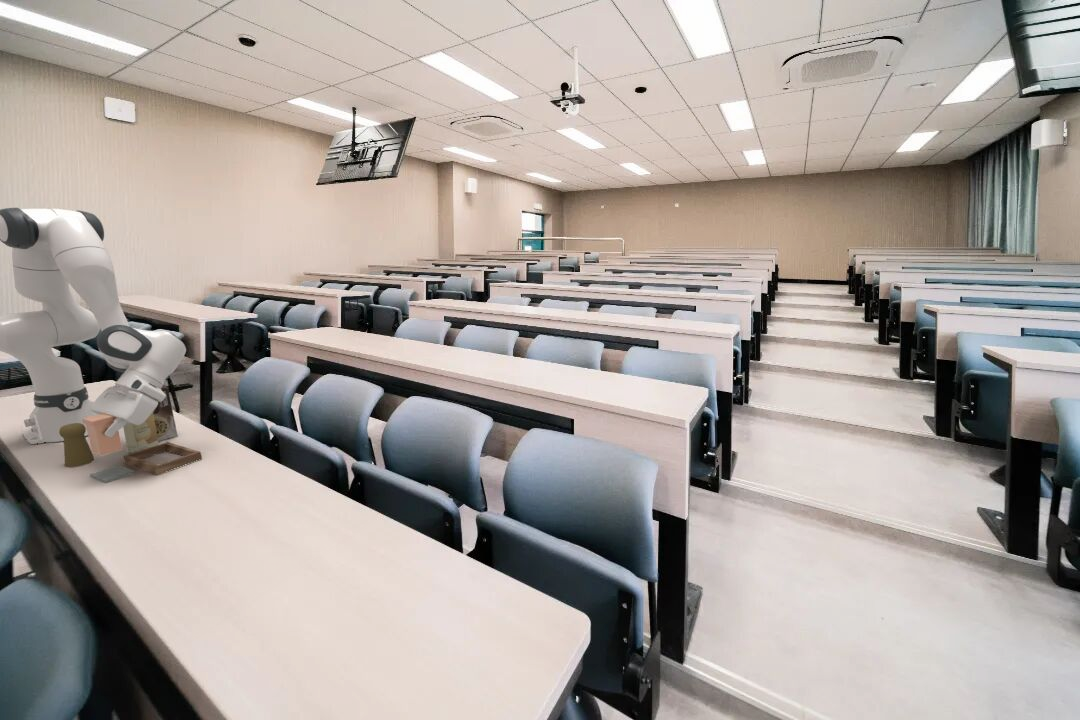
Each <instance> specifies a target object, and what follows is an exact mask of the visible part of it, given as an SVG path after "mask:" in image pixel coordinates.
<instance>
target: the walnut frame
mask: <svg viewBox="0 0 1080 720" xmlns="http://www.w3.org/2000/svg"><path fill="white" fill-rule="evenodd" d="M164 451H165V452H169V451H171V452H170V453H172V452H174V453H173V454H176V453H177V454H176V455H179V454H181V455H180V457H177V458H175V459H172V460H169V461H166V462H163V463H161V464H156V463H154V462H151V461H147V460H145V459H146V458H149V457H150V458H151V457H154V456H155V454H156V455H159V454H162V453H165V452H164ZM161 452H162V453H161ZM158 453H159V454H158ZM182 455H184V456H182ZM202 457H203V456H202V452H201V451H199V450H197V449H196V450H195V449H192V448H189V447H186V446H182V445H180V444H176V443H172V442H170V441H166V442H163V443H159V445H156V446H153V447H150V448H147V449H144V450H141V451H137V452H134V453H133V452H130V453H128V454H125V455H123V463H124V464H125V465H127V466H130V467H133V468H135V469H138V468H139V469H138V470H141V469H142V470H141V471H144V470H145V471H144V472H147V473H151V474H152V475H155V474H156V476H159V474H160V475H162V474H164V472H165V473H167V472H166V471H168V472H170V471H169V470H171V469H173V470H175V469H174V468H176V469H178V468H177V467H179V468H181V467H180V466H182V467H183V465H184V466H186V465H185V464H187V465H189V464H188V463H190V464H192V463H191V462H193V463H195V462H197V461H196V460H198V461H200V460H199V459H201V460H202V459H203V458H202ZM194 461H195V462H194ZM171 471H172V470H171ZM161 473H162V474H161Z"/></svg>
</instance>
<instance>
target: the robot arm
mask: <svg viewBox="0 0 1080 720" xmlns="http://www.w3.org/2000/svg"><path fill="white" fill-rule="evenodd" d="M104 238H105V229H104V226H103V223H102V222H101V220H100V218H98V216H96V215H95V214H94V213H91V212H88V211H83V210H70V209H64V208H63V209H62V208H56V207H55V208H54V207H47V208H42V207H41V208H40V207H39V208H37V207H36V208H35V207H32V208H19V207H8V208H7V207H6V208H2V209H0V242H1V243H3V245H5V246H7V247H10V248H12V249H11V260H12V262H11V263H12V270H13V272H12V273H13V282H14V288H15V290H16V292H17V293H18V294H19V295H21V296H22V297H24V298H26V299H28V300H31V301H34V302H38V303H41V305H42V310H35V311H26V312H16V313H15V312H14V313H8V314H6V315H4V314H3V315H1V316H0V352H3V353H5V354H8V355H9V356H12V357H14V359H17V360H18V361H19V362H20V363H21V364H22V365H23V366H24V368H26V370H27V372H28V374H29V378H30V380H31V384H32V387H33V390H34V395H33V405H34V406H35V407H34V408H33V410H32V411H31V413H30V414H29V415H28V417H29V418H27V419H24V420H23V424H24V426H25V428H26V429H25V430H22V433H21V434H22V436H23V435H24V436H23V437H24V438H25V440H26V439H27V440H26V441H27V443H28V444H29V443H30V444H29V445H37V443H38V444H44V442H46V443H56V442H64V438H63V437H61V436H60V434H59V430H60V428H61V427H62V426H64V425H68V424H72V423H81V424H83V425H84V426H85V428H86V424H84V423H83V421H82V419H83V418H87V417H91V416H95V415H99V414H106V415H110V416H113V417H116V419H115V420H114V423H113V424H112V425H111V426H110V427H109V428H106V429H105V431H104V432H103V435H106V436H108V437H113V435H114V434H115V433H116V432H117V431H120V430H121V429H123V427H124V426H125V425H126V423H127V422H128V423H131V424H135V425H140V424H142V423H143V422H145V421H146V420H147V418H148V417H149V416H150V415H151V414H152V412H153V411H154V410H155V408H156V407H157V405H158V402H162V401H163V400H164V398H165V397H166V395H165V394H164V392H163V391H162V390H161V387H162V386H163V385H165V382H166V379H167V378H168V377H169V376H170V375H171V374H173V373H174V372H175V370H176V369H177V368H178V366H179V364H180V363H181V362H182V360H184V359H183V358H184V356H185V354H186V352H187V346H186V344H185V342H183V340H181V338H180V337H178V336H177V335H176V334H174V333H172V332H170V331H169V330H165V329H164V330H147V329H140V328H135V327H132V326H130V323H129V322H128V320H127V316H125V313H124V311H123V308H122V305H121V303H120V299H119V294H118V285H117V281H116V280H117V279H116V275H115V270H114V265H113V262H112V259H111V256H110V254H109V252H108V250H107V248H106V245H105V244H104V242H103V241H104ZM70 286H71V288H72V289H73V290H74V291H75V292H76V293H77V294H78V296H80V298H81V299H82V300H83V302H84V303H85V304H86V305H87V307H88V308H89V309H87V308H85V307H84V306H82V305H81V304H79V303H78V302H77V300H76V299H75V298H74V297H73V296H74V295H72V293H71V289H70ZM96 337H97V339H96V346H97V349H98V350H99V352H100V354H101V355H102V357H103V358H104V359H105V362H106V365H107V366H108V367H109V368H111V369H112V370H114V371H115V372H117V373H122V374H121V375H120V377H119V378H118V379H117V380H116V382H115V383H114V385H113V386H109V387H107V388H106V389H105V390H103V392H101V393H100V394H99V395H98V397H97V398H96V399H95V400H94V401H92V400H90V399H89V391H88V389H87V387H86V386H85V385H84V384H85V383H84V379H83V376H82V370H81V367H80V365H79V364H78V362H76V361H75V360H73V359H70V358H66V357H61V356H57V355H56V354H55V353H54V352H53V351H54V350H53V349H52V348H55V347H60V346H65V345H67V346H68V345H72V344H73V345H74V344H79V343H82V342H85V341H88V340H91V339H94V338H96ZM27 428H28V429H27ZM84 435H85V437H86V436H88V432H87V428H86V431H85V433H84Z"/></svg>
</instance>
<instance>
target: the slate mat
mask: <svg viewBox="0 0 1080 720" xmlns="http://www.w3.org/2000/svg"><path fill="white" fill-rule="evenodd" d="M132 473H133V474H134V473H135V471H134V470H133V469H129V468H126V467H124V466H122V465H118V464H117V465H114V466H110V467H107V468H105V469H102V470H98V471H95V472H92V473H89V477H91V478H93V479H96V480H99V481H101V482H103V483H110V482H111V481H115V480H117V479H121V478H123V477H126V476H127V477H128V476H129V475H132Z"/></svg>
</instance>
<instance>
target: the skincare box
mask: <svg viewBox="0 0 1080 720" xmlns="http://www.w3.org/2000/svg"><path fill="white" fill-rule="evenodd" d="M122 429H123V435H124V440H125V444H126V451H127V452H128V453H134V452H137V451H141V450H144V449H147V448H150V447H153V446H156V445H160V443H159V441H158V438H157V432H156V426H155V420H154V414H153V412H152V414H151V415H150V416H149V417H148V418H147V420H146V421H145V422H143V423H142V424H140V425H135V424H131V423H128V422H127V423H126V425H125V426H124V427H122Z"/></svg>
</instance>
